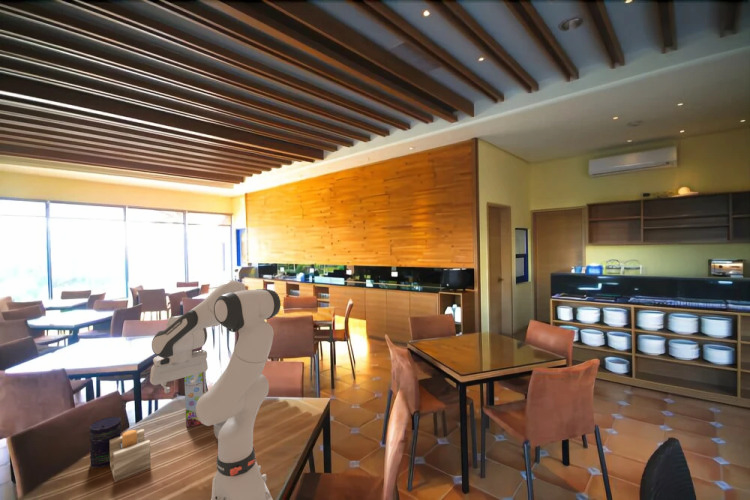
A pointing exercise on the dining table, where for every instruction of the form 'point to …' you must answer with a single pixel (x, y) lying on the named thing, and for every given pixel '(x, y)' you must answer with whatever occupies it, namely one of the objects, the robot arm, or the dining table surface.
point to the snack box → (193, 397)
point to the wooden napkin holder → (129, 457)
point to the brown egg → (129, 438)
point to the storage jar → (103, 440)
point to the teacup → (218, 428)
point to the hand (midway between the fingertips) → (180, 388)
